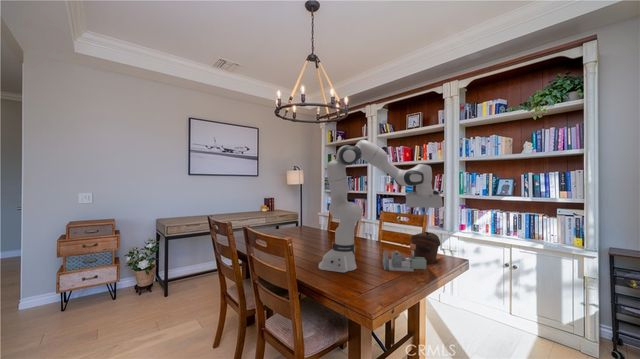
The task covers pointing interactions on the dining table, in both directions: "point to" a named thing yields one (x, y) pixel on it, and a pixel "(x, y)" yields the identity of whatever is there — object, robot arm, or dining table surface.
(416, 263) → the ram guide
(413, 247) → the ram
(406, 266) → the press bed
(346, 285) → the dining table surface
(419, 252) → the case
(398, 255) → the block
